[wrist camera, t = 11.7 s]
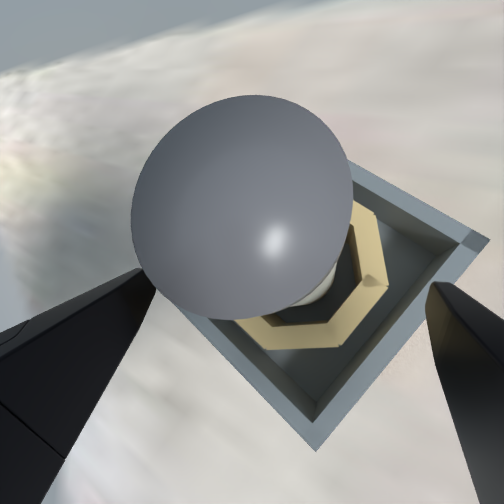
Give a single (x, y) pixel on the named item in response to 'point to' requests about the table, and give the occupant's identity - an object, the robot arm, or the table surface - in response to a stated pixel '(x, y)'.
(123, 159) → the table surface
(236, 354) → the walled box
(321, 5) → the table surface
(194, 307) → the cream and grey cylinder
